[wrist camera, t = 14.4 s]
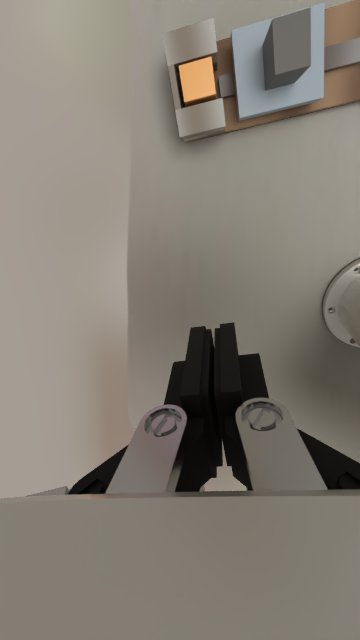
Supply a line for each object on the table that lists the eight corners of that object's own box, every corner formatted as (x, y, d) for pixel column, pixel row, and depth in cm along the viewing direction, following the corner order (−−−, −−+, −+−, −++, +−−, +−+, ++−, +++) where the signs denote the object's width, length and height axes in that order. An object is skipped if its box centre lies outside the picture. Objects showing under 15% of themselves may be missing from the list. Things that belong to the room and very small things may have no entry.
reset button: (212, 70, 27) (211, 56, 23) (216, 102, 28) (215, 93, 24) (183, 78, 27) (178, 65, 24) (188, 109, 28) (184, 102, 25)
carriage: (316, 14, 25) (350, -38, 18) (316, 101, 27) (346, 82, 21) (230, 39, 26) (234, -1, 20) (238, 120, 28) (243, 108, 22)
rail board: (444, -25, 25) (513, -83, 19) (430, 84, 28) (486, 62, 22) (172, 56, 29) (161, 29, 23) (186, 142, 32) (179, 137, 26)
